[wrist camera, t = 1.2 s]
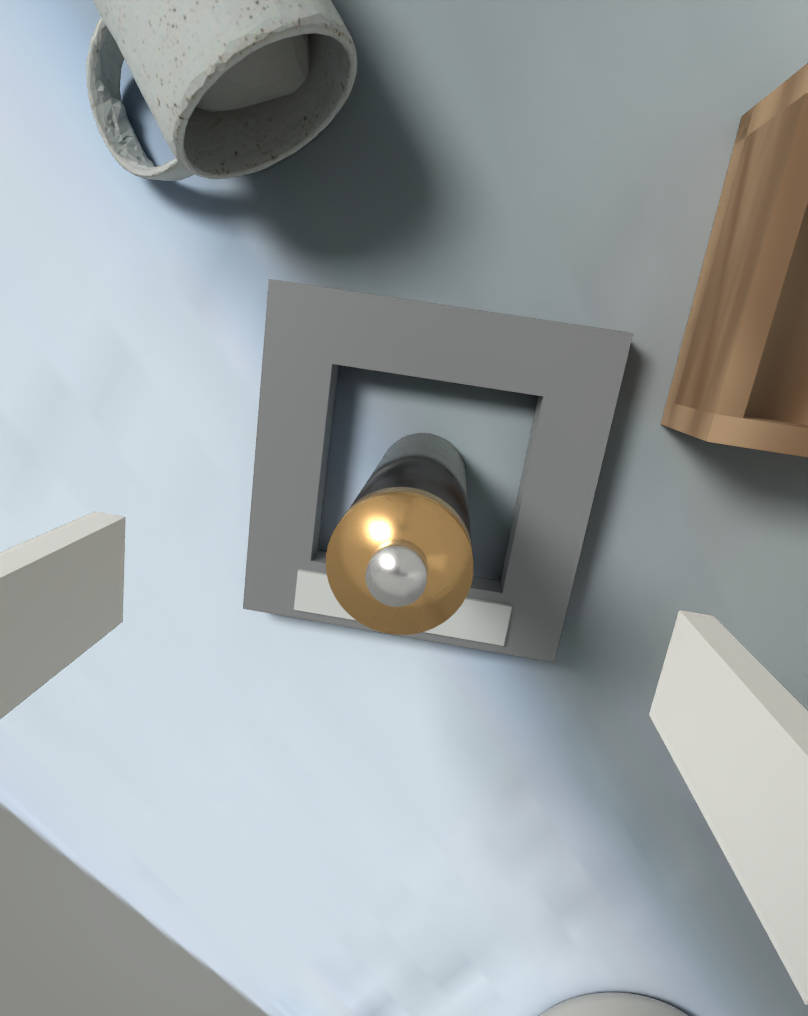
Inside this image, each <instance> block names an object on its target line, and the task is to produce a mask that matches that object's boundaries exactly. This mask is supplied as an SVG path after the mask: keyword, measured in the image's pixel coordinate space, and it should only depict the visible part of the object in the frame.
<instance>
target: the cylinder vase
mask: <svg viewBox="0 0 808 1016" xmlns="http://www.w3.org/2000/svg"><path fill="white" fill-rule="evenodd" d="M539 1016H688V1015H687V1014H685V1013H684V1012H682V1011H680V1010H679V1009H677V1008H675V1007H673V1006H671V1005H669V1004H667V1003H664V1002H662V1001H659V1000H656V999H653V998H649V997H646V996H641V995H636V994H630V993H618V992H605V993H594V994H587V995H582V996H578V997H575V998H571V999H568V1000H566V1001H563V1002H561V1003H559V1004H556V1005H554V1006H553V1007H551V1008H549V1009H548V1010H546V1011H544V1012H543V1013H542V1014H540V1015H539Z"/></svg>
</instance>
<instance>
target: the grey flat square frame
mask: <svg viewBox="0 0 808 1016" xmlns="http://www.w3.org/2000/svg"><path fill="white" fill-rule="evenodd" d="M632 336H633V333H629V332H622V331H616V330H609V329H602V328H595V327H589V326H582V325H575V324H568V323H562V322H555V321H548V320H542V319H535V318H528V317H521V316H515V315H508V314H501V313H494V312H488V311H481V310H474V309H467V308H461V307H454V306H447V305H441V304H434V303H427V302H420V301H414V300H407V299H400V298H393V297H387V296H380V295H373V294H366V293H360V292H353V291H346V290H340V289H333V288H326V287H319V286H313V285H306V284H299V283H292V282H286V281H279V280H272V279H269V286H268V298H267V311H266V324H265V336H264V349H263V362H262V374H261V387H260V400H259V412H258V425H257V438H256V450H255V463H254V476H253V488H252V501H251V514H250V526H249V539H248V552H247V564H246V577H245V590H244V602H243V609H248V610H254V611H260V612H266V613H272V614H277V615H283V616H289V617H295V618H300V619H306V620H312V621H318V622H324V623H329V624H335V625H341V626H347V627H352V628H358V629H364V630H370V631H375V632H379V631H376V630H373V629H371V628H369V627H367V626H365V625H363V624H361V623H360V622H358V621H357V620H355V619H354V618H353V617H351V616H350V615H349V614H348V613H347V612H346V611H345V610H344V609H343V608H342V607H341V605H340V604H339V602H338V601H337V600H336V598H335V596H334V594H333V592H332V590H331V588H330V585H329V582H328V578H327V574H326V552H325V551H319V550H318V544H319V535H320V526H321V517H322V508H323V499H324V490H325V482H326V473H327V464H328V455H329V446H330V437H331V428H332V420H333V411H334V402H335V393H336V384H337V375H338V366H339V365H342V366H349V367H355V368H362V369H368V370H375V371H381V372H388V373H394V374H401V375H407V376H414V377H420V378H427V379H433V380H440V381H446V382H453V383H459V384H466V385H472V386H479V387H485V388H492V389H498V390H505V391H511V392H518V393H524V394H531V395H537V396H538V400H537V405H536V410H535V414H534V419H533V424H532V429H531V434H530V439H529V444H528V449H527V454H526V459H525V463H524V468H523V473H522V478H521V483H520V488H519V493H518V498H517V503H516V507H515V512H514V517H513V522H512V527H511V532H510V537H509V542H508V547H507V552H506V556H505V561H504V566H503V571H502V576H501V581H497V580H491V579H485V578H479V577H473V578H472V583H471V587H470V590H469V592H468V595H467V597H466V599H465V600H464V602H463V604H462V605H461V606H460V608H459V609H458V610H457V611H456V613H454V614H453V615H452V616H451V617H450V618H449V619H448V620H446V621H445V622H444V623H442V624H440V625H439V626H437V627H435V628H433V629H430V630H428V631H425V632H421V633H417V634H410V635H399V636H404V637H410V638H416V639H422V640H427V641H433V642H439V643H445V644H450V645H456V646H462V647H468V648H474V649H479V650H485V651H491V652H497V653H502V654H508V655H514V656H520V657H525V658H531V659H537V660H543V661H549V662H554V661H555V657H556V653H557V649H558V644H559V640H560V636H561V632H562V628H563V624H564V619H565V615H566V611H567V607H568V603H569V599H570V595H571V590H572V586H573V582H574V578H575V574H576V570H577V565H578V561H579V557H580V553H581V549H582V545H583V540H584V536H585V532H586V528H587V524H588V520H589V515H590V511H591V507H592V503H593V499H594V495H595V490H596V486H597V482H598V478H599V474H600V470H601V465H602V461H603V457H604V453H605V449H606V445H607V441H608V436H609V432H610V428H611V424H612V420H613V416H614V411H615V407H616V403H617V399H618V395H619V391H620V386H621V382H622V378H623V374H624V370H625V366H626V361H627V357H628V353H629V349H630V345H631V341H632ZM381 633H383V632H381ZM393 635H394V634H393Z"/></svg>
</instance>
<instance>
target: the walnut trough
mask: <svg viewBox="0 0 808 1016" xmlns="http://www.w3.org/2000/svg"><path fill="white" fill-rule="evenodd" d="M661 425H664V426H666V427H669V428H672V429H674V430H677V431H680V432H682V433H685V434H688V435H690V436H693V437H696V438H698V439H701V440H704V441H706V442H712V443H719V444H725V445H732V446H738V447H744V448H751V449H757V450H764V451H770V452H777V453H783V454H789V455H796V456H802V457H808V63H807V64H806V65H805V66H804V67H802V68H801V69H800V70H799V71H797V72H796V73H795V74H794V75H792V76H791V77H790V78H789V79H788V80H786V81H785V82H784V83H783V84H781V85H780V86H779V87H778V88H776V89H775V90H774V91H773V92H771V93H770V94H769V95H768V96H767V97H765V98H764V99H763V100H762V101H760V102H759V103H758V104H757V105H755V106H754V107H753V108H752V109H750V110H749V111H748V112H747V113H746V114H744V115H743V116H742V117H741V121H740V125H739V129H738V133H737V136H736V140H735V144H734V148H733V152H732V155H731V159H730V163H729V167H728V171H727V174H726V178H725V182H724V186H723V190H722V193H721V197H720V201H719V205H718V209H717V212H716V216H715V220H714V224H713V228H712V231H711V235H710V239H709V243H708V247H707V251H706V254H705V258H704V262H703V266H702V270H701V273H700V277H699V281H698V285H697V289H696V292H695V296H694V300H693V304H692V308H691V311H690V315H689V319H688V323H687V327H686V330H685V334H684V338H683V342H682V346H681V349H680V353H679V357H678V361H677V365H676V368H675V372H674V376H673V380H672V384H671V388H670V391H669V395H668V399H667V403H666V407H665V410H664V414H663V418H662V422H661Z"/></svg>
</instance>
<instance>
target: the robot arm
mask: <svg viewBox="0 0 808 1016" xmlns="http://www.w3.org/2000/svg"><path fill="white" fill-rule="evenodd" d="M124 552H125V517H123V516H117V515H111V514H105V513H99V512H93V513H90V514H88V515H86V516H83V517H81V518H79V519H76V520H74V521H72V522H69V523H67V524H65V525H63V526H60V527H58V528H56V529H53V530H51V531H49V532H46V533H44V534H42V535H39V536H37V537H35V538H32V539H30V540H28V541H25V542H23V543H21V544H18V545H16V546H14V547H11V548H9V549H7V550H4V551H2V552H0V719H1V718H3V717H4V716H5V715H6V714H8V713H9V712H10V711H11V710H13V709H14V708H15V707H16V706H18V705H19V704H20V703H21V702H23V701H24V700H25V699H26V698H28V697H29V696H30V695H31V694H33V693H34V692H35V691H36V690H38V689H39V688H40V687H41V686H43V685H44V684H45V683H46V682H48V681H49V680H50V679H51V678H53V677H54V676H55V675H56V674H58V673H59V672H60V671H61V670H63V669H64V668H65V667H67V666H68V665H69V664H70V663H72V662H73V661H74V660H75V659H77V658H78V657H79V656H80V655H82V654H83V653H84V652H85V651H87V650H88V649H89V648H90V647H92V646H93V645H94V644H95V643H97V642H98V641H99V640H100V639H102V638H103V637H104V636H105V635H107V634H108V633H109V632H110V631H112V630H113V629H114V628H115V627H117V626H118V625H119V624H120V623H122V622H123V589H124ZM649 715H650V717H651V719H652V721H653V723H654V725H655V727H656V728H657V730H658V732H659V734H660V736H661V738H662V740H663V741H664V743H665V745H666V747H667V749H668V751H669V753H670V754H671V756H672V758H673V760H674V762H675V764H676V766H677V767H678V769H679V771H680V773H681V775H682V777H683V778H684V780H685V782H686V784H687V786H688V788H689V790H690V791H691V793H692V795H693V797H694V799H695V801H696V803H697V804H698V806H699V808H700V810H701V812H702V814H703V816H704V817H705V819H706V821H707V823H708V825H709V827H710V829H711V830H712V832H713V834H714V836H715V838H716V840H717V842H718V843H719V845H720V847H721V849H722V851H723V853H724V855H725V856H726V858H727V860H728V862H729V864H730V866H731V868H732V869H733V871H734V873H735V875H736V877H737V879H738V881H739V882H740V884H741V886H742V888H743V890H744V892H745V893H746V895H747V897H748V899H749V901H750V903H751V905H752V906H753V908H754V910H755V912H756V914H757V916H758V918H759V919H760V921H761V923H762V925H763V927H764V929H765V931H766V932H767V934H768V936H769V938H770V940H771V942H772V944H773V945H774V947H775V949H776V951H777V953H778V955H779V957H780V958H781V960H782V962H783V964H784V966H785V968H786V970H787V971H788V973H789V975H790V977H791V979H792V981H793V983H794V984H795V986H796V988H797V990H798V992H799V994H800V995H801V997H802V999H803V1001H804V1003H805V1005H808V711H807V710H806V709H805V708H804V707H803V706H802V705H801V704H800V703H799V702H798V701H797V700H796V699H795V698H794V697H793V696H792V695H791V694H790V693H789V692H788V691H787V690H786V689H785V688H784V687H783V686H782V685H781V684H780V683H779V682H778V681H777V680H776V679H775V678H774V677H773V676H772V675H771V674H770V673H769V672H768V671H767V670H766V669H765V668H764V667H763V666H762V665H761V664H760V663H759V662H758V661H757V660H756V659H755V658H754V657H753V656H752V655H751V654H750V653H749V652H748V651H747V650H746V649H745V648H744V647H743V646H742V645H741V644H740V643H739V642H738V641H737V639H736V638H735V637H734V636H733V635H732V634H731V633H730V632H729V631H728V630H727V629H726V628H725V627H724V626H723V625H722V624H721V623H720V622H719V621H718V620H717V619H716V618H715V617H714V616H711V615H705V614H699V613H693V612H687V611H681V610H679V613H678V617H677V620H676V623H675V627H674V630H673V634H672V637H671V641H670V644H669V648H668V651H667V655H666V658H665V661H664V665H663V668H662V672H661V675H660V679H659V682H658V686H657V689H656V693H655V696H654V700H653V703H652V706H651V710H650V713H649Z"/></svg>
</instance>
